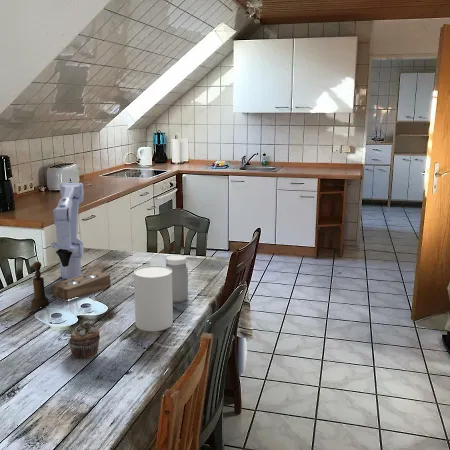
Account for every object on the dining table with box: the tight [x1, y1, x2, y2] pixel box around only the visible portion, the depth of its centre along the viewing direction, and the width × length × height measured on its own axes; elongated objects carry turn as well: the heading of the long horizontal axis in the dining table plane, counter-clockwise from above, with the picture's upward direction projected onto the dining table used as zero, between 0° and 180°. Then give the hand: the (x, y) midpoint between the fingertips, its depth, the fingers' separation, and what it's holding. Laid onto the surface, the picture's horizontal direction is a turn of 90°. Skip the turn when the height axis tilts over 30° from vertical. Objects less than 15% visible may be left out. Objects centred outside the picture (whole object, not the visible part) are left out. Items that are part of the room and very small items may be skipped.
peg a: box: [67, 281, 78, 286], centre depth 208 cm, size 4×4×5 cm
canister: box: [133, 264, 174, 332], centre depth 180 cm, size 14×14×20 cm
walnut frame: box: [51, 270, 112, 301], centre depth 212 cm, size 10×23×5 cm, turn 147°
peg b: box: [86, 275, 96, 279], centre depth 216 cm, size 4×4×5 cm
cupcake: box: [68, 321, 101, 360], centre depth 158 cm, size 10×10×10 cm
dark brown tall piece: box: [30, 261, 50, 309], centre depth 195 cm, size 7×6×18 cm
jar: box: [165, 254, 189, 304], centre depth 203 cm, size 10×10×18 cm
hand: (65, 266), depth 212 cm, fingers closed
